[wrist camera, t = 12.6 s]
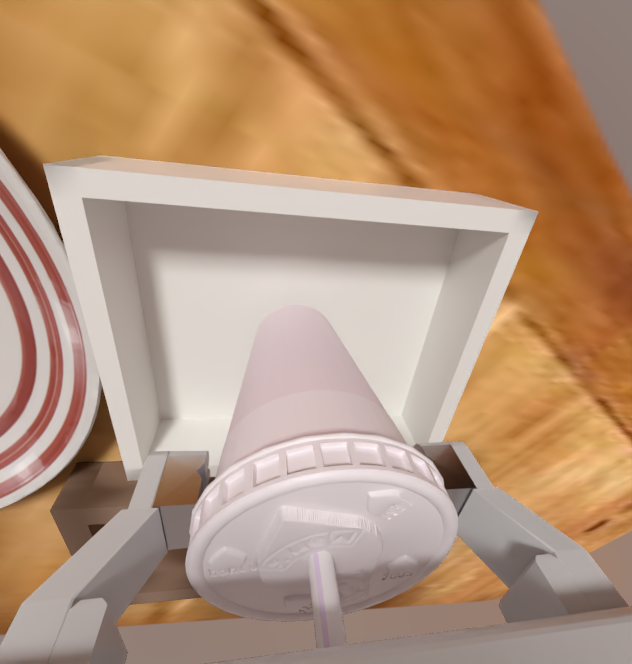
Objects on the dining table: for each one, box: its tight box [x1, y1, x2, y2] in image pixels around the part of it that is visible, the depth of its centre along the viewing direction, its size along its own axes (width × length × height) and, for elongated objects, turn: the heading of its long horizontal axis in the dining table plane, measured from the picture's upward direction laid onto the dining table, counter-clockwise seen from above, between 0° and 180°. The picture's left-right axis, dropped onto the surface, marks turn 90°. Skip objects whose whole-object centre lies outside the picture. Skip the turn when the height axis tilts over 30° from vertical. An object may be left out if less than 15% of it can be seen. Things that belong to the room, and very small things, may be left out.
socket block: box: [50, 462, 216, 605], centre depth 23 cm, size 15×11×3 cm
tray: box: [43, 155, 538, 481], centre depth 16 cm, size 16×14×4 cm
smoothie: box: [185, 305, 458, 649], centre depth 10 cm, size 6×6×14 cm
